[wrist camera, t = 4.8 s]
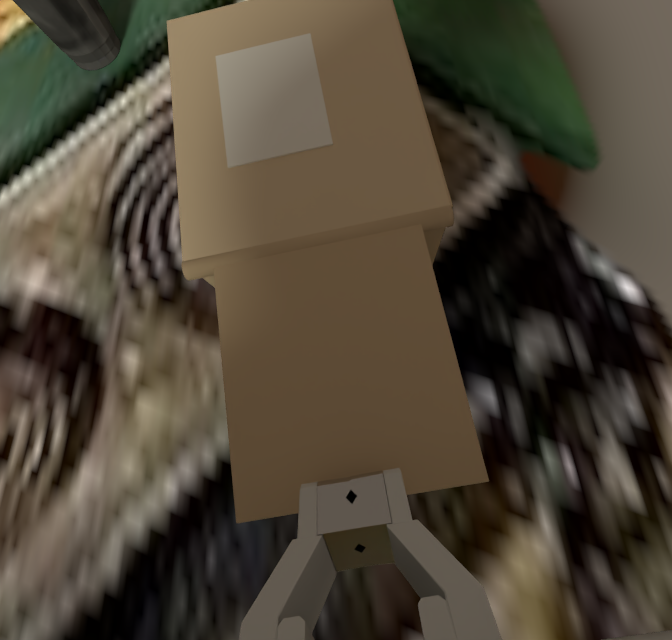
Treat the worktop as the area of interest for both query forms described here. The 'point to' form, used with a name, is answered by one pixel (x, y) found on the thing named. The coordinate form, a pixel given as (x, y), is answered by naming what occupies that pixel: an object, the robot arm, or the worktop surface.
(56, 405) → the worktop surface
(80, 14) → the beverage cup
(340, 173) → the lid
